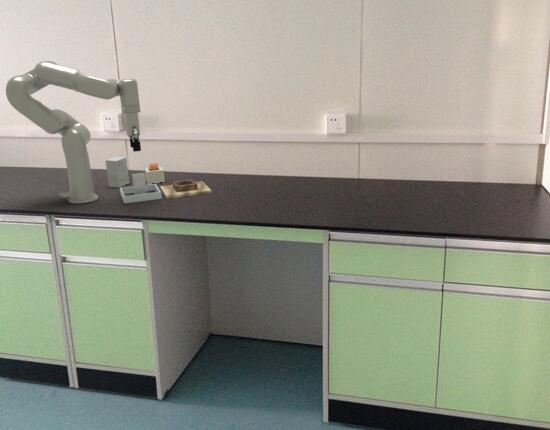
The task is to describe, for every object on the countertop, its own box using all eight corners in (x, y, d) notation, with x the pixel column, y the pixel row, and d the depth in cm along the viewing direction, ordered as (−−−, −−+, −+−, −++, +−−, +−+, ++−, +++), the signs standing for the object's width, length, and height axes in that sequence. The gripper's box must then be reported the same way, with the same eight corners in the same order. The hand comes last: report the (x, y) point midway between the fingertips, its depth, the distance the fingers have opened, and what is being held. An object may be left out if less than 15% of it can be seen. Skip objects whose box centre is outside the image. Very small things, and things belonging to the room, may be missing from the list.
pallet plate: (166, 198, 239) (166, 190, 238) (160, 188, 255) (159, 181, 254) (211, 193, 245) (211, 185, 244) (202, 183, 261) (201, 176, 260)
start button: (150, 171, 264) (149, 165, 263) (149, 170, 268) (148, 164, 267) (158, 170, 266) (158, 164, 265) (157, 169, 269) (157, 163, 268)
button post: (148, 184, 264) (146, 172, 262) (145, 180, 271) (144, 168, 269) (164, 182, 266) (163, 170, 264) (162, 178, 273) (160, 166, 271)
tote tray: (124, 203, 234) (123, 196, 233) (120, 194, 248) (119, 187, 247) (161, 198, 239) (161, 192, 238) (156, 189, 253) (155, 183, 252)
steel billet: (135, 198, 241) (133, 176, 238) (134, 195, 245) (131, 174, 242) (147, 197, 242) (144, 175, 239) (145, 194, 247) (143, 172, 244)
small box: (118, 182, 268) (115, 156, 264) (129, 183, 266) (126, 157, 262) (108, 187, 261) (105, 160, 257) (119, 187, 259) (116, 160, 255)
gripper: (119, 107, 238) (124, 146, 244) (123, 112, 223) (129, 153, 228) (137, 106, 241) (142, 144, 246) (142, 110, 225) (147, 151, 231)
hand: (135, 149), depth 237 cm, fingers open, 9 cm apart
